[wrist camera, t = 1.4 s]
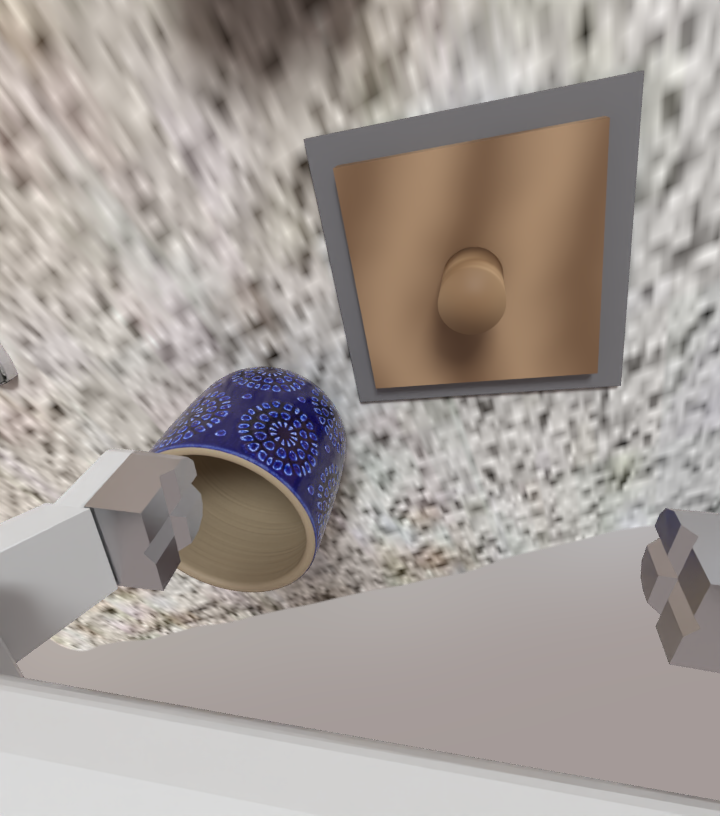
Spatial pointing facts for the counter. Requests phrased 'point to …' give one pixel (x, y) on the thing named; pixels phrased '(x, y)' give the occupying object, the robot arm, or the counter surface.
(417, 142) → the mat
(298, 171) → the counter surface
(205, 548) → the planter
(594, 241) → the lid
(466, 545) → the counter surface
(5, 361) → the handgun
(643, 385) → the counter surface
